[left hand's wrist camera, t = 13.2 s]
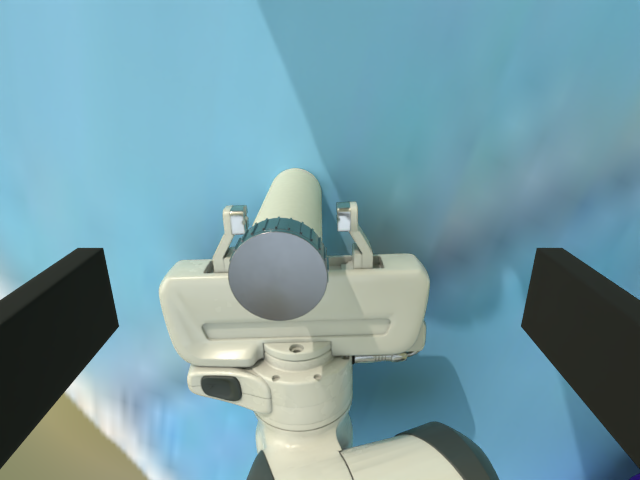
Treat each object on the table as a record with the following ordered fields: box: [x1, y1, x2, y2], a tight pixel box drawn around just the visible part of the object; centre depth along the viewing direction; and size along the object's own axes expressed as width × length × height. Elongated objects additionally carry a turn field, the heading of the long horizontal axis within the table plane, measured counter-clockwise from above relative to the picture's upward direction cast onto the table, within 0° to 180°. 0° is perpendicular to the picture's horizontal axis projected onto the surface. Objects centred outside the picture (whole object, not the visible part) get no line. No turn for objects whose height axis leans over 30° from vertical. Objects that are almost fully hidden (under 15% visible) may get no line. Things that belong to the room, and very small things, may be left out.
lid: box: [228, 217, 329, 321], centre depth 22 cm, size 5×5×2 cm
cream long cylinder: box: [253, 168, 322, 241], centre depth 28 cm, size 4×4×16 cm
